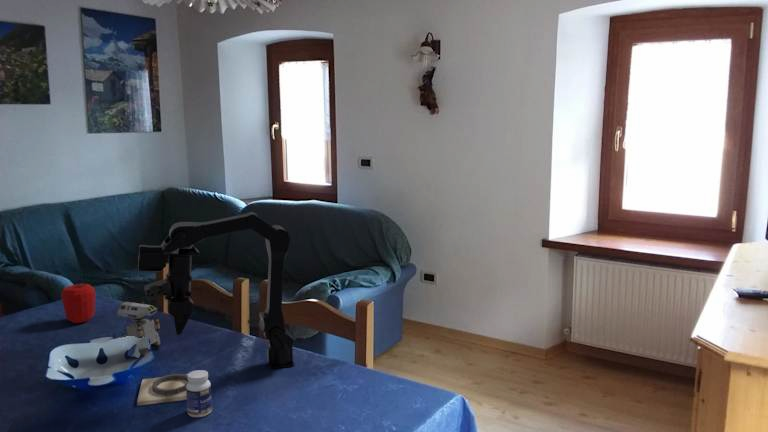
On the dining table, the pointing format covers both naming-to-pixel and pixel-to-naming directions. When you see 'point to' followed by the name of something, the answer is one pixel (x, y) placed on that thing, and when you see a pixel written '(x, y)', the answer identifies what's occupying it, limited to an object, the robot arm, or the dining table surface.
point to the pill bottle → (198, 394)
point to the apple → (78, 302)
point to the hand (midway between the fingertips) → (177, 328)
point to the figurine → (141, 322)
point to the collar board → (163, 389)
